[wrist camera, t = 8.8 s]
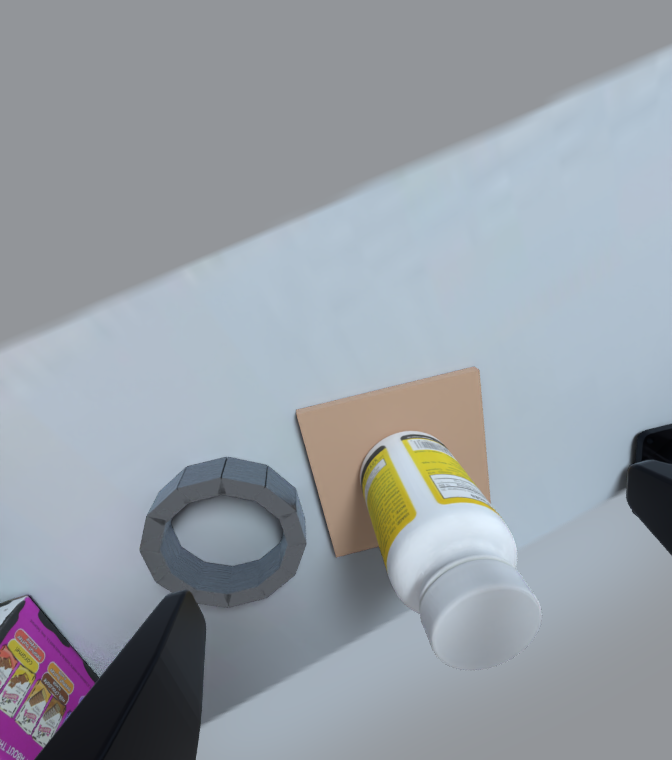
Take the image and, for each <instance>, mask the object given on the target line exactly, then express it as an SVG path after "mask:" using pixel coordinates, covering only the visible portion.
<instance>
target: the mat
mask: <svg viewBox="0 0 672 760" xmlns="http://www.w3.org/2000/svg"><path fill="white" fill-rule="evenodd" d="M296 415H297V418H298V422H299V425H300V429H301V433H302V436H303V440H304V443H305V447H306V451H307V454H308V458H309V461H310V465H311V469H312V472H313V476H314V479H315V483H316V486H317V490H318V494H319V497H320V501H321V504H322V508H323V512H324V515H325V519H326V522H327V526H328V530H329V533H330V537H331V540H332V544H333V547H334V551H335V555H336V557H340V556H344V555H348V554H352V553H356V552H359V551H363V550H367V549H371V548H375V547H379V545H378V541H377V538H376V535H375V532H374V528H373V525H372V522H371V518H370V515H369V512H368V509H367V505H366V502H365V499H364V496H363V493H362V489H361V484H360V471H361V467H362V463H363V461H364V459H365V457H366V455H367V454H368V453H369V451H370V450H371V449H372V448H373V447H374V446H375V445H376V444H377V443H378V442H380V441H381V440H383V439H384V438H386V437H388V436H390V435H393V434H395V433H399V432H404V431H419V432H423V433H427V434H429V435H432V436H433V437H435V438H437V439H438V440H439V441H440V442H442V443H443V444H444V445H445V446H446V448H447V449H448V450H449V451H450V453H451V454H452V455H453V456H454V458H455V459H456V460H457V461H458V463H459V464H460V465H461V467H462V468H463V469H464V470H465V472H466V473H467V474H468V476H469V477H470V478H471V479H472V481H473V482H474V483H475V485H476V486H477V487H478V489H479V490H480V491H481V492H482V494H483V495H484V496H485V498H486V499H487V500H488V502H489V503H490V504H491V501H490V490H489V478H488V466H487V454H486V443H485V431H484V419H483V408H482V396H481V384H480V372H479V369H477V368H476V367H470V368H466V369H462V370H458V371H454V372H450V373H446V374H442V375H438V376H433V377H429V378H425V379H421V380H417V381H413V382H409V383H405V384H401V385H396V386H392V387H388V388H384V389H380V390H376V391H372V392H368V393H364V394H360V395H355V396H351V397H347V398H343V399H339V400H335V401H331V402H327V403H323V404H318V405H314V406H310V407H306V408H302V409H298V410H296Z"/></svg>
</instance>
